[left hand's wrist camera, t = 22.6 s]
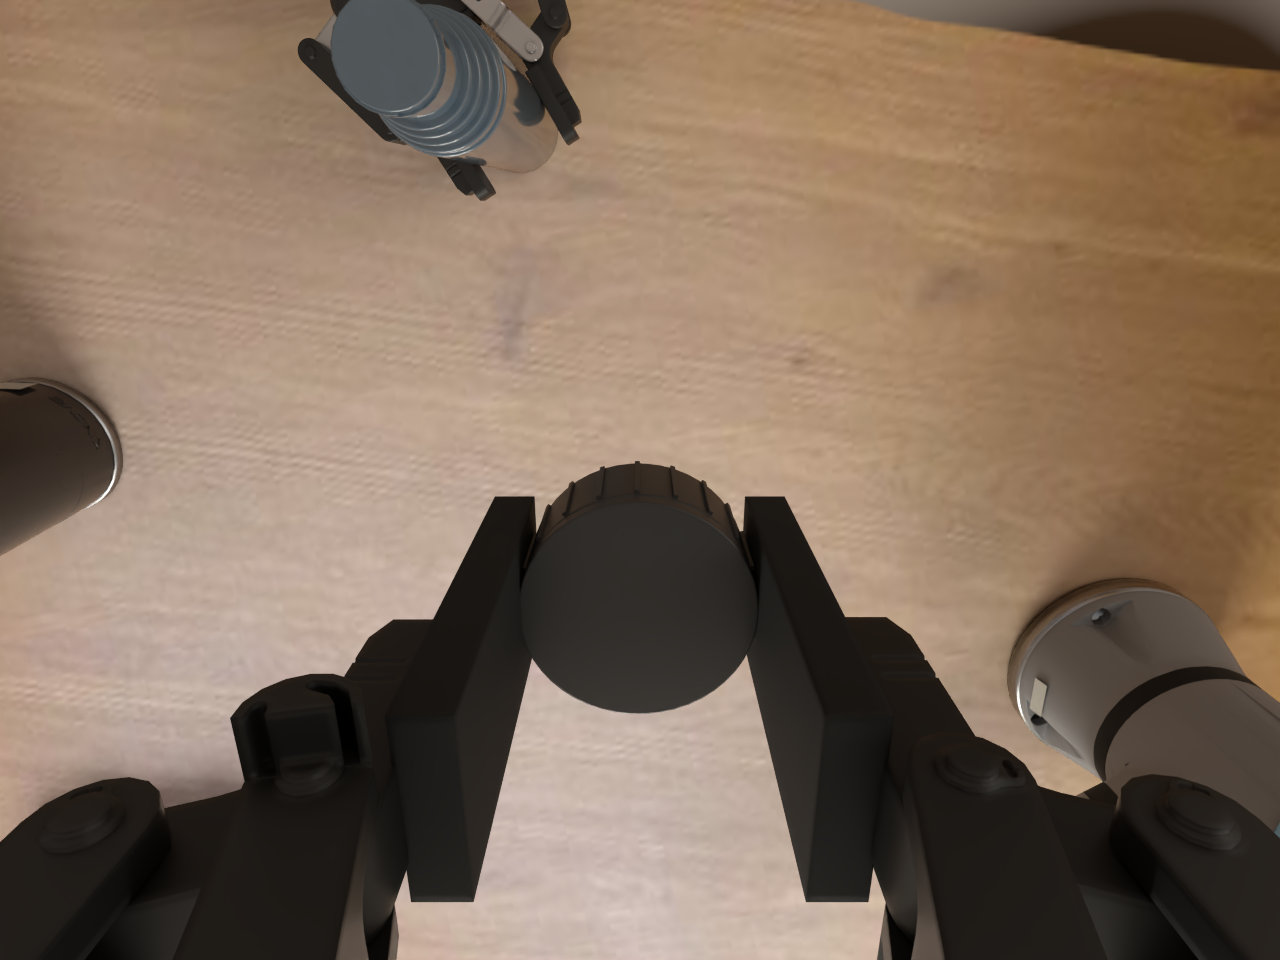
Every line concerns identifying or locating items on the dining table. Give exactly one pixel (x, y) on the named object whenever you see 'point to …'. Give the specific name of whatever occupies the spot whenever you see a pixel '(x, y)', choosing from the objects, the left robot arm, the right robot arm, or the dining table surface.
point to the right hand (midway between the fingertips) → (529, 167)
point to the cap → (638, 590)
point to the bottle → (441, 84)
